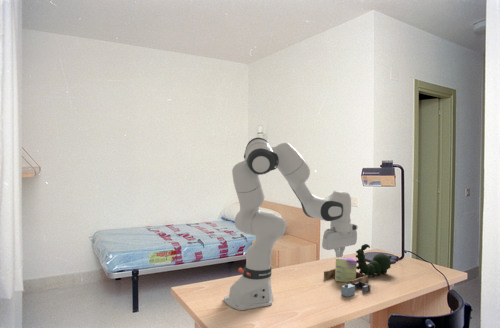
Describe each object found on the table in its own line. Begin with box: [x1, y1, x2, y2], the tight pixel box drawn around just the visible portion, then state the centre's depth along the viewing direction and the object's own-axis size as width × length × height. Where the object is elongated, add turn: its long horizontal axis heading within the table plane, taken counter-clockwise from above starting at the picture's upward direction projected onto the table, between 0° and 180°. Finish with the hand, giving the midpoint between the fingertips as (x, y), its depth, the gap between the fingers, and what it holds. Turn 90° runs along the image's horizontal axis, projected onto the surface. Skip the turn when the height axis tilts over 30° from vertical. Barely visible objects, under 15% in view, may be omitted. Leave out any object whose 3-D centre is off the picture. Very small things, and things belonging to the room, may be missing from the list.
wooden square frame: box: [323, 268, 369, 285], centre depth 181 cm, size 14×17×4 cm
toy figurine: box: [355, 243, 393, 278], centre depth 192 cm, size 9×19×25 cm
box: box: [334, 256, 358, 284], centre depth 182 cm, size 10×6×12 cm, turn 75°
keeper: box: [354, 281, 371, 294], centre depth 170 cm, size 5×6×3 cm
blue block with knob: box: [340, 283, 356, 298], centre depth 164 cm, size 6×3×5 cm, turn 126°
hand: (339, 256), depth 160 cm, fingers closed
